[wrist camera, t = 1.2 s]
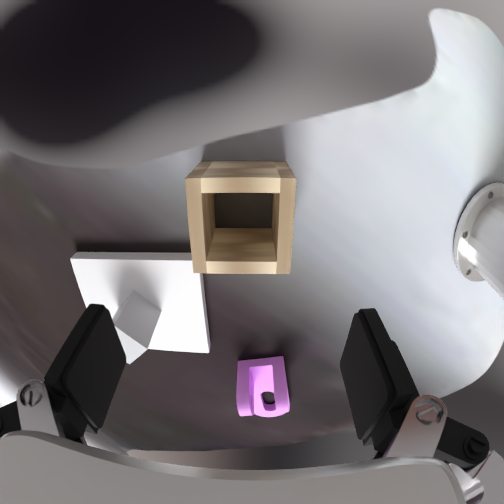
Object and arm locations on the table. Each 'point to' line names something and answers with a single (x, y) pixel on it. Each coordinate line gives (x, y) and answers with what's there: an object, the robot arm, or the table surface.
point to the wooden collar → (240, 239)
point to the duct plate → (147, 298)
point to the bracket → (262, 387)
